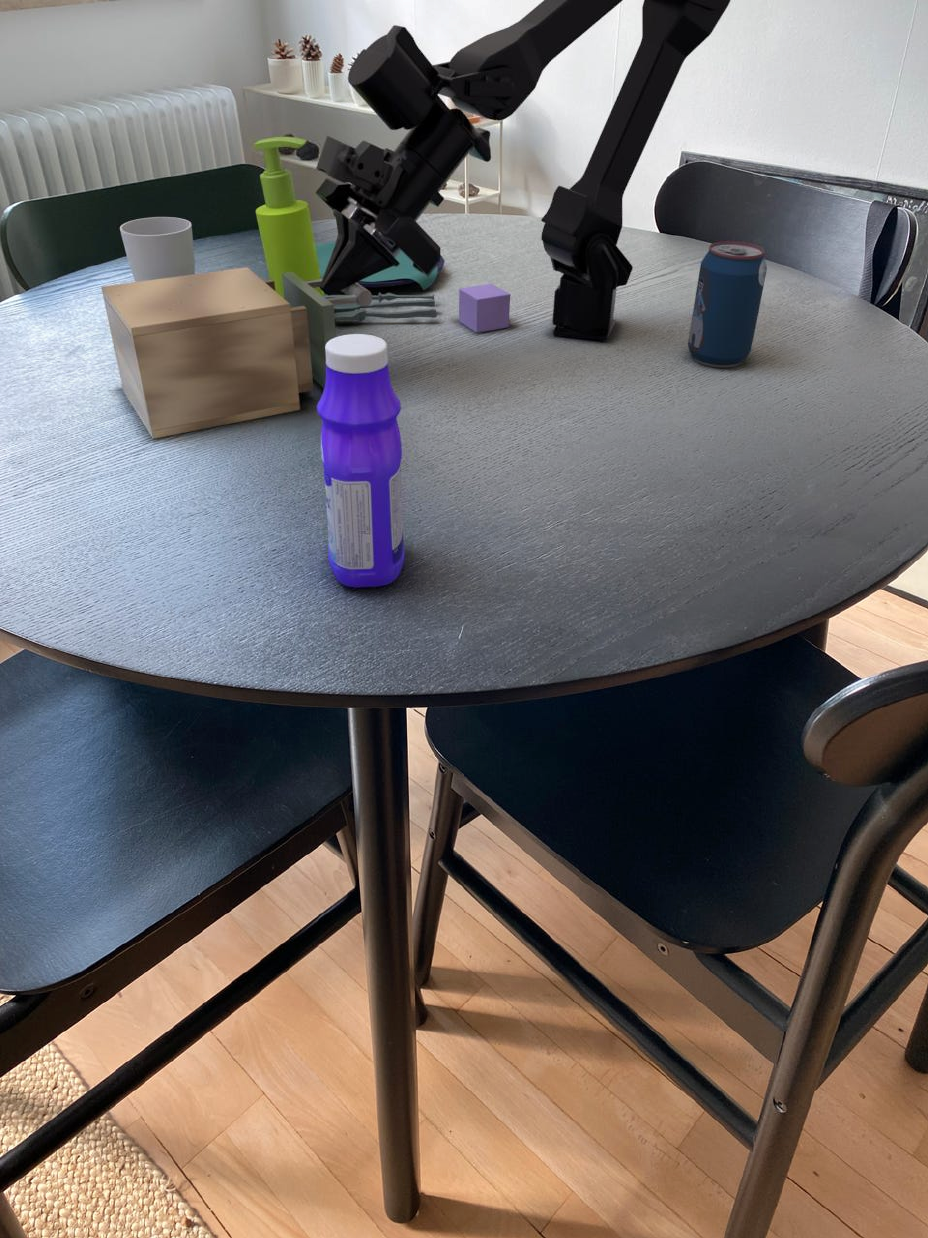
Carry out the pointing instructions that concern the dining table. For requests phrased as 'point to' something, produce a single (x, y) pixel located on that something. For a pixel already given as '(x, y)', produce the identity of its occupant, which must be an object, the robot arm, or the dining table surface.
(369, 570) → the bottle
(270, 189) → the soap dispenser
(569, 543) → the dining table surface
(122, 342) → the wooden drawer box
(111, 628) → the dining table surface
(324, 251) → the cutlery set
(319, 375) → the drawer with grey handle
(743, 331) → the soda can
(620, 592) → the dining table surface
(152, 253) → the cup
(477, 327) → the lavender cube block
